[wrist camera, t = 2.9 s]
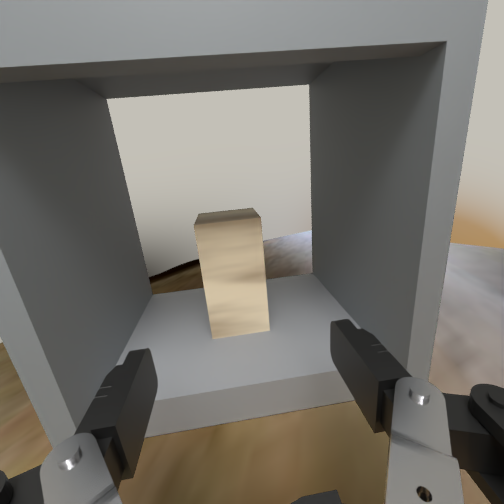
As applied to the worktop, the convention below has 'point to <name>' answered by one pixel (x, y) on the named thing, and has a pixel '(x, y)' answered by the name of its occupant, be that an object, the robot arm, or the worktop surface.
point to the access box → (322, 194)
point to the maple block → (233, 271)
